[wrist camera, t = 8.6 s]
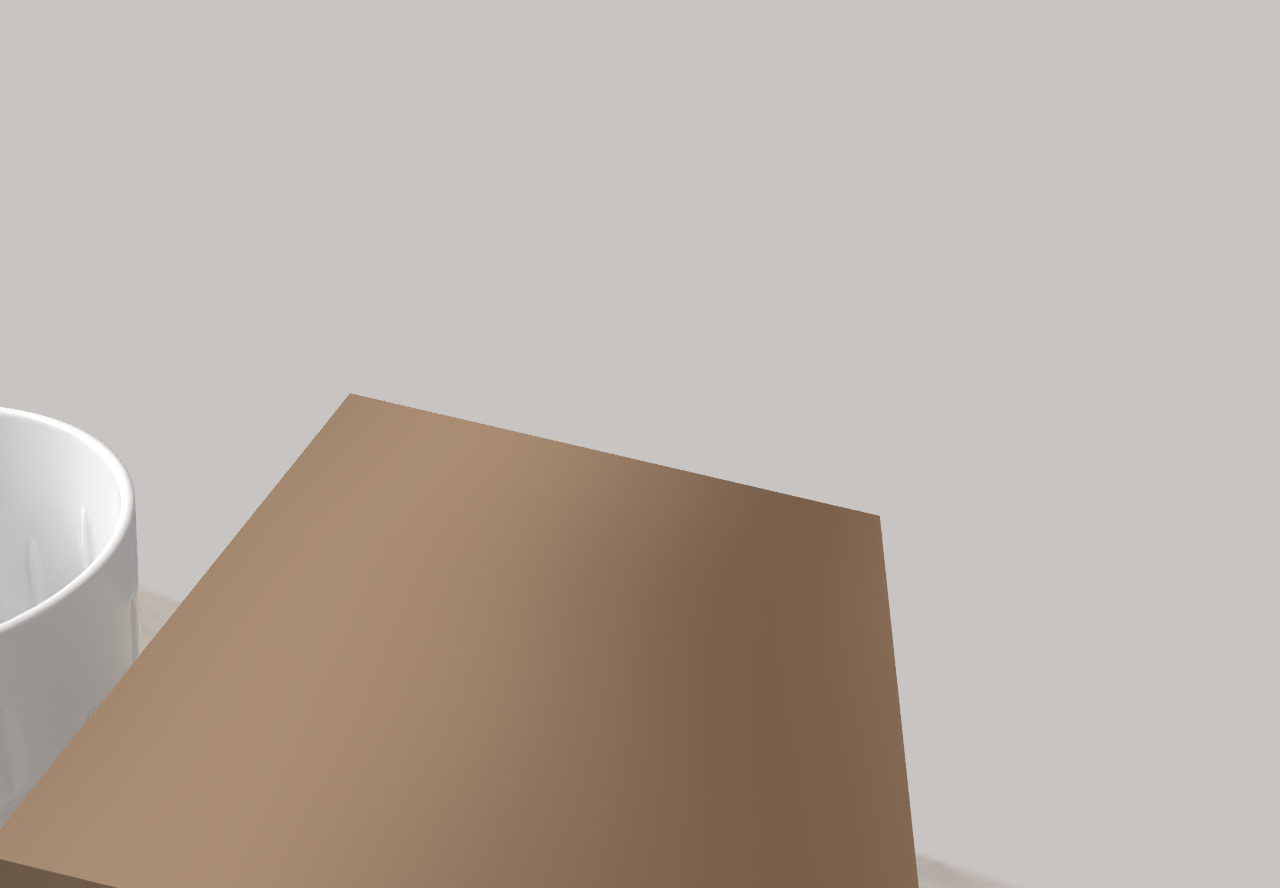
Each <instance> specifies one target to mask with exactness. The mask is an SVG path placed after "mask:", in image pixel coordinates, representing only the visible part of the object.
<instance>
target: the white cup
mask: <svg viewBox="0 0 1280 888" xmlns="http://www.w3.org/2000/svg"><path fill="white" fill-rule="evenodd" d="M136 536H137V535H136V511H135V494H134V488H133V484H132V481H131V478H130V476H129V473H128V471H127V469H126V468H125V466H124V465H123V463H122V462H121V460H120V459H119V458H118V457H117V456H116V455H115V453H114V452H113V451H111V449H109V448H108V447H107V446H106V445H105V444H103V443H102V442H100V441H99V440H98V439H96V438H95V437H93V436H92V435H90V434H88V433H87V432H85V431H83V430H81V429H79V428H77V427H75V426H72V425H70V424H68V423H65V422H63V421H60V420H57V419H54V418H51V417H48V416H44V415H40V414H36V413H32V412H28V411H23V410H18V409H11V408H5V407H0V829H1V827H2V826H3V825H4V824H5V822H6V821H7V820H8V819H9V817H10V816H11V815H12V814H13V812H14V811H15V810H16V809H17V807H18V806H19V805H20V804H21V803H22V801H23V800H24V799H25V798H26V796H27V795H28V794H29V793H30V791H31V790H32V789H33V788H34V786H35V785H36V784H37V783H38V781H39V780H40V779H41V778H42V776H43V775H44V774H45V773H46V771H47V770H48V769H49V768H50V766H51V765H52V764H53V763H54V761H55V760H56V759H57V758H58V756H59V755H60V754H61V753H62V751H63V750H64V749H65V748H66V747H67V745H68V744H69V743H70V742H71V740H72V739H73V738H74V737H75V735H76V734H77V733H78V732H79V730H80V729H81V728H82V727H83V725H84V724H85V723H86V722H87V720H88V719H89V718H90V717H91V715H92V714H93V713H94V712H95V710H96V709H97V708H98V707H99V705H100V704H101V703H102V702H103V700H104V699H105V698H106V697H107V695H108V694H109V693H110V692H111V691H112V689H113V688H114V687H115V686H116V684H117V683H118V682H119V681H120V679H121V678H122V677H123V676H124V674H125V673H126V672H127V671H128V669H129V668H130V667H131V666H132V664H133V663H134V662H135V661H136V659H137V658H138V657H139V656H140V654H141V653H142V638H141V618H140V598H139V579H138V558H137V537H136Z"/></svg>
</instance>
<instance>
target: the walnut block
mask: <svg viewBox="0 0 1280 888" xmlns="http://www.w3.org/2000/svg"><path fill="white" fill-rule="evenodd" d="M0 888H919V887H918V878H917V868H916V859H915V849H914V839H913V830H912V821H911V811H910V801H909V792H908V783H907V774H906V763H905V753H904V744H903V734H902V725H901V716H900V706H899V696H898V687H897V677H896V667H895V659H894V648H893V639H892V630H891V620H890V610H889V601H888V591H887V581H886V572H885V562H884V552H883V543H882V533H881V524H880V516H877V515H873V514H868V513H864V512H860V511H856V510H851V509H847V508H843V507H838V506H834V505H830V504H825V503H821V502H816V501H813V500H808V499H804V498H800V497H795V496H791V495H787V494H782V493H778V492H773V491H769V490H765V489H760V488H756V487H752V486H748V485H743V484H739V483H735V482H730V481H726V480H722V479H718V478H713V477H709V476H705V475H700V474H696V473H692V472H687V471H683V470H679V469H674V468H670V467H666V466H661V465H657V464H653V463H648V462H644V461H640V460H635V459H631V458H627V457H622V456H618V455H614V454H609V453H605V452H600V451H597V450H592V449H588V448H584V447H579V446H575V445H571V444H566V443H562V442H557V441H553V440H549V439H544V438H540V437H536V436H532V435H527V434H523V433H519V432H514V431H510V430H506V429H501V428H497V427H493V426H488V425H484V424H479V423H476V422H471V421H467V420H463V419H458V418H454V417H450V416H445V415H441V414H437V413H432V412H428V411H424V410H419V409H415V408H411V407H406V406H402V405H398V404H393V403H389V402H385V401H380V400H376V399H372V398H367V397H363V396H359V395H355V394H349V396H348V397H347V398H346V399H345V401H344V402H343V403H342V404H341V406H340V407H339V408H338V409H337V411H336V412H335V413H334V414H333V416H332V417H331V418H330V419H329V421H328V422H327V423H326V424H325V425H324V427H323V428H322V429H321V431H320V432H319V433H318V434H317V435H316V437H315V438H314V439H313V441H312V442H311V443H310V444H309V445H308V447H307V448H306V449H305V450H304V452H303V453H302V454H301V455H300V457H299V458H298V459H297V460H296V462H295V463H294V464H293V465H292V467H291V468H290V469H289V470H288V472H287V473H286V474H285V475H284V477H283V478H282V479H281V480H280V482H279V483H278V484H277V485H276V486H275V488H274V489H273V490H272V491H271V493H270V494H269V495H268V497H267V498H266V499H265V500H264V501H263V503H262V504H261V505H260V506H259V508H258V509H257V510H256V511H255V513H254V514H253V515H252V516H251V518H250V519H249V520H248V521H247V523H246V524H245V525H244V526H243V528H242V529H241V530H240V531H239V532H238V534H237V535H236V537H234V539H233V540H232V541H231V542H230V544H229V545H228V546H227V547H226V549H225V550H224V551H223V552H222V554H221V555H220V556H219V557H218V559H217V560H216V561H215V562H214V564H213V565H212V566H211V567H210V569H209V570H208V571H207V572H206V574H205V575H204V576H203V577H202V579H201V580H200V581H199V582H198V584H197V585H196V586H195V588H193V590H192V591H191V592H190V594H189V595H188V596H187V597H186V599H185V600H184V601H183V602H182V603H181V605H180V606H179V607H178V608H177V610H176V611H175V612H174V613H173V615H172V616H171V617H170V618H169V620H168V621H167V622H166V623H165V625H164V626H163V627H162V628H161V630H160V631H159V632H158V633H157V635H156V636H155V637H154V638H153V639H152V641H151V642H150V643H149V644H148V646H147V647H146V648H145V649H144V651H143V652H142V653H141V654H140V656H139V657H138V658H137V659H136V661H135V662H134V663H133V664H132V666H131V667H130V668H129V669H128V671H127V672H126V673H125V674H124V676H123V677H122V678H121V679H120V681H119V682H118V683H117V684H116V686H115V687H114V688H113V689H112V691H111V692H110V693H109V694H108V695H107V697H106V698H105V699H104V700H103V702H102V703H101V704H100V705H99V707H98V708H97V709H96V710H95V712H94V713H93V714H92V715H91V717H90V718H89V719H88V720H87V722H86V723H85V724H84V725H83V727H82V728H81V729H80V730H79V732H78V733H77V734H76V735H75V737H74V738H73V739H72V740H71V742H70V743H69V744H68V745H67V747H66V748H65V749H64V750H63V751H62V753H61V754H60V755H59V756H58V758H57V759H56V760H55V761H54V763H53V764H52V765H51V766H50V768H49V769H48V770H47V771H46V773H45V774H44V775H43V776H42V778H41V779H40V780H39V781H38V783H37V784H36V785H35V786H34V788H33V789H32V790H31V791H30V793H29V794H28V795H27V796H26V798H25V799H24V800H23V801H22V803H21V804H20V805H19V806H18V807H17V809H16V810H15V811H14V812H13V814H12V815H11V816H10V817H9V819H8V820H7V821H6V822H5V824H4V825H3V826H2V827H1V829H0Z"/></svg>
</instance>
